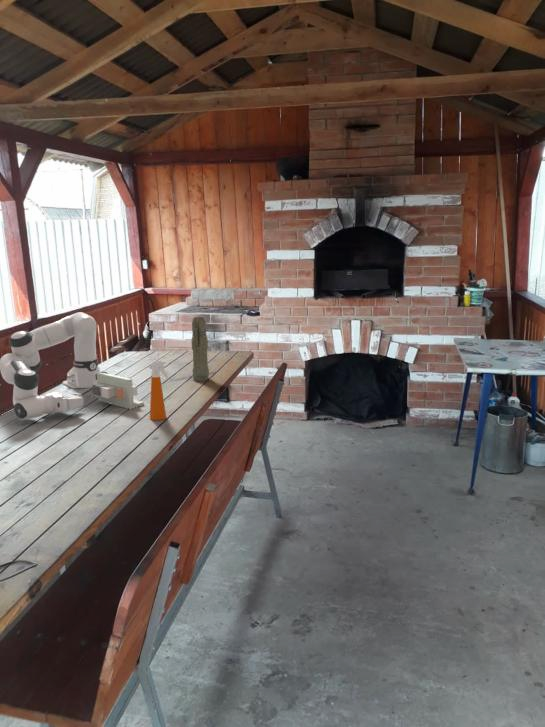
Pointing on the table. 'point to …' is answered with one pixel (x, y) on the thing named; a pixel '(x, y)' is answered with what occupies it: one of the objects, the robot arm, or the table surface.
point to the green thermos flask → (199, 349)
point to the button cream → (108, 391)
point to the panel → (119, 383)
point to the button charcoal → (98, 389)
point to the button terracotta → (124, 392)
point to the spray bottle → (157, 392)
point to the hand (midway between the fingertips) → (80, 395)
